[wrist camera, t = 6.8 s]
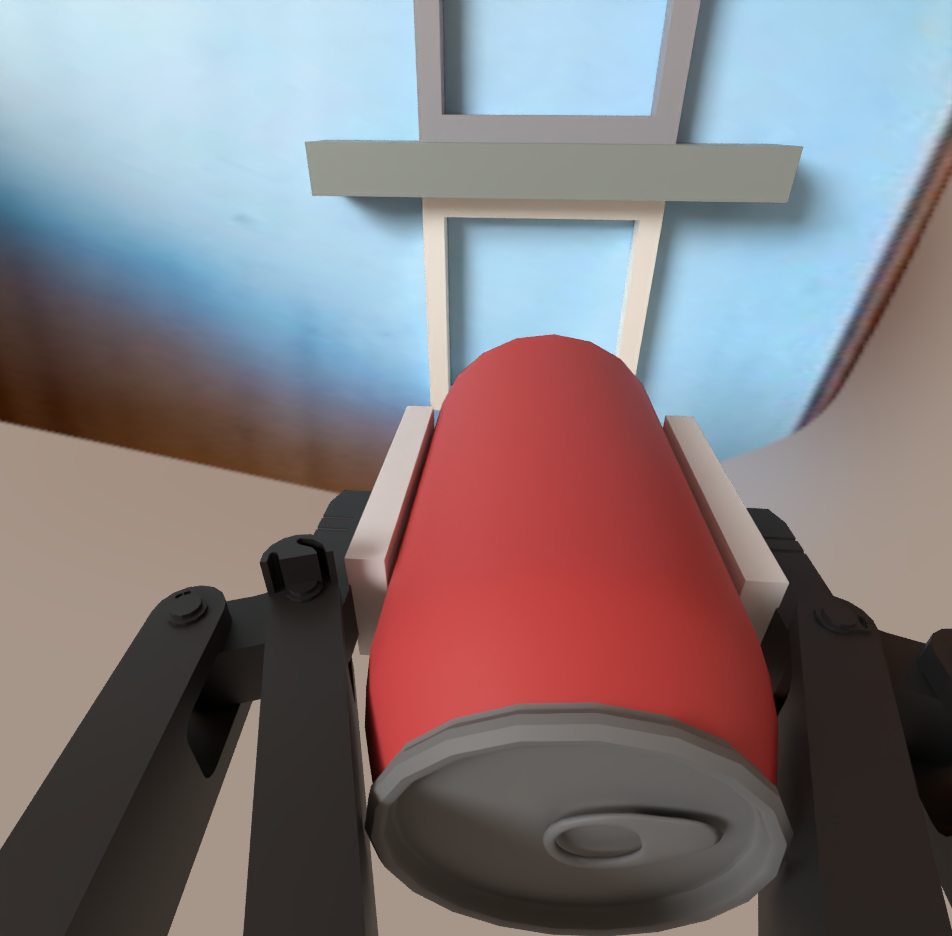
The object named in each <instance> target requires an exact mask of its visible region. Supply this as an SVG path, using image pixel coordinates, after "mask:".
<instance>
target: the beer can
mask: <svg viewBox="0 0 952 936" xmlns="http://www.w3.org/2000/svg"><path fill="white" fill-rule="evenodd" d="M365 713H366V714H365V731H366V739H367V746H368V754H369V762H370V769H371V775H372V782H373V784H372V786H371V789H370V793H369V798H368V805H367V813H366V820H365V827H364V829H365V831H366V833H367V835H368V837H369V839H370V841H371V843H372V845H373V847H374V849H375V851H376V853H377V855H378V857H379V859H380V860H381V862H382V863H383V865H384V866H385V867H386V868H387V869H388V870H389V871H390V872H391V873H392V874H394V875H395V876H396V877H397V878H398V879H399V880H400V881H402V882H403V883H404V884H405V885H406V886H407V887H408V888H410V889H411V890H412V891H413V892H415V893H417V894H419V895H421V896H423V897H425V898H427V899H429V900H431V901H433V902H435V903H437V904H439V905H441V906H443V907H445V908H447V909H449V910H451V911H452V912H456V913H459V914H462V915H465V916H469V917H472V918H475V919H478V920H482V921H485V922H488V923H491V924H495V925H498V926H503V927H509V928H515V929H521V930H528V931H534V932H539V933H546V934H553V935H579V936H616V935H628V934H638V933H651V932H659V931H664V930H668V929H672V928H676V927H680V926H685V925H689V924H693V923H697V922H702V921H706V920H709V919H711V918H713V917H715V916H717V915H720V914H722V913H724V912H726V911H728V910H730V909H733V908H735V907H737V906H739V905H742V904H744V903H746V902H748V901H749V900H750V899H752V898H753V897H754V896H755V895H756V894H757V893H758V892H759V891H760V890H762V889H763V888H764V887H765V886H766V885H767V884H768V883H769V882H771V881H772V880H773V879H774V878H775V877H776V876H777V875H778V873H779V872H780V870H781V868H782V867H783V864H784V861H785V858H786V855H787V852H788V849H789V846H790V843H791V840H792V837H793V831H792V828H791V826H790V823H789V820H788V817H787V814H786V812H785V809H784V806H783V803H782V801H781V798H780V795H779V793H778V790H777V765H778V718H777V713H776V707H775V701H774V695H773V689H772V684H771V678H770V675H769V672H768V668H767V665H766V662H765V659H764V656H763V652H762V649H761V646H760V643H759V640H758V637H757V634H756V632H755V630H754V627H753V625H752V623H751V621H750V619H749V617H748V614H747V612H746V610H745V608H744V606H743V603H742V601H741V599H740V597H739V595H738V592H737V590H736V588H735V586H734V584H733V581H732V579H731V577H730V575H729V573H728V570H727V568H726V566H725V564H724V562H723V560H722V557H721V555H720V553H719V551H718V549H717V546H716V544H715V542H714V540H713V538H712V535H711V533H710V531H709V529H708V527H707V524H706V522H705V520H704V518H703V516H702V513H701V511H700V509H699V507H698V505H697V503H696V500H695V498H694V496H693V494H692V492H691V489H690V487H689V485H688V483H687V481H686V478H685V476H684V474H683V472H682V470H681V467H680V465H679V463H678V461H677V459H676V456H675V454H674V452H673V450H672V448H671V446H670V443H669V441H668V439H667V437H666V435H665V432H664V430H663V428H662V426H661V424H660V421H659V419H658V417H657V415H656V413H655V410H654V408H653V406H652V404H651V402H650V399H649V397H648V395H647V393H646V391H645V389H644V386H643V384H642V383H641V382H640V381H639V380H638V379H637V377H636V376H635V375H634V374H633V373H632V371H631V370H630V369H629V368H628V367H627V366H626V364H625V363H624V362H623V361H622V360H621V359H620V358H618V357H616V356H614V355H613V354H611V353H609V352H607V351H606V350H604V349H602V348H600V347H599V346H597V345H595V344H593V343H592V342H589V341H584V340H579V339H574V338H569V337H564V336H559V335H554V334H553V335H544V336H535V337H526V338H517V339H514V340H512V341H510V342H507V343H505V344H503V345H501V346H498V347H496V348H494V349H491V350H489V351H487V352H485V353H483V354H482V355H481V356H479V357H478V358H477V359H476V360H475V361H474V362H473V363H472V364H470V365H469V366H468V367H467V368H466V369H465V370H464V371H463V372H461V373H460V374H459V375H458V376H457V378H456V380H455V382H454V383H453V385H452V387H451V389H450V390H449V392H448V394H447V396H446V398H445V399H444V401H443V403H442V406H441V409H440V413H439V416H438V420H437V423H436V426H435V430H434V433H433V437H432V440H431V443H430V447H429V450H428V454H427V457H426V461H425V464H424V467H423V471H422V474H421V478H420V481H419V485H418V488H417V491H416V495H415V498H414V502H413V505H412V508H411V512H410V515H409V519H408V522H407V526H406V529H405V532H404V536H403V539H402V543H401V546H400V550H399V553H398V556H397V560H396V563H395V567H394V570H393V573H392V577H391V580H390V584H389V587H388V591H387V594H386V597H385V601H384V604H383V608H382V611H381V615H380V618H379V621H378V625H377V628H376V632H375V635H374V638H373V642H372V645H371V650H370V659H369V668H368V678H367V686H366V711H365Z"/></svg>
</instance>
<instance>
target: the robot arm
mask: <svg viewBox="0 0 952 936" xmlns="http://www.w3.org/2000/svg"><path fill="white" fill-rule="evenodd" d="M663 430H664V432H665V435H666V437H667V439H668V441H669V443H670V446H671V448H672V450H673V452H674V454H675V456H676V459H677V461H678V463H679V465H680V467H681V470H682V472H683V474H684V476H685V478H686V481H687V483H688V485H689V487H690V489H691V492H692V494H693V496H694V498H695V500H696V503H697V505H698V507H699V509H700V511H701V513H702V516H703V518H704V520H705V522H706V524H707V527H708V529H709V531H710V533H711V535H712V538H713V540H714V542H715V544H716V546H717V549H718V551H719V553H720V555H721V557H722V560H723V562H724V564H725V566H726V568H727V570H728V573H729V575H730V577H731V579H732V581H733V584H734V586H735V588H736V590H737V592H738V595H739V597H740V599H741V601H742V603H743V606H744V608H745V610H746V612H747V614H748V617H749V619H750V621H751V623H752V625H753V627H754V630H755V632H756V634H757V637H758V640H759V643H760V646H761V649H762V652H763V656H764V659H765V662H766V665H767V668H768V672H769V675H770V678H771V684H772V689H773V695H774V701H775V707H776V713H777V718H778V765H777V790H778V793H779V795H780V798H781V801H782V803H783V806H784V809H785V812H786V814H787V817H788V820H789V823H790V826H791V828H792V831H793V837H792V840H791V843H790V846H789V849H788V852H787V855H786V858H785V861H784V864H783V867H782V868H781V870H780V872H779V873H778V875H777V876H776V877H775V878H774V879H773V880H772V881H771V882H769V883H768V884H767V885H766V886H765V887H764V888H763V889H762V890H760V891H759V892H758V930H759V931H758V936H952V929H951V925H950V921H949V917H948V913H947V909H946V904H945V900H944V896H943V892H942V888H943V890H944V892H945V894H946V896H947V899H948V901H949V903H950V905H951V907H952V629H941V630H939V631H937V632H935V633H933V634H932V636H931V637H930V639H929V640H928V642H927V643H926V644H925V643H921V642H918V641H914V640H911V639H907V638H903V637H900V636H896V635H893V634H889V633H886V632H883V631H880V630H878V629H877V627H876V625H875V623H874V621H873V620H872V619H871V618H870V617H869V616H868V615H867V614H866V613H865V612H864V611H863V610H862V609H860V608H858V607H857V606H855V605H853V604H852V603H850V602H848V601H846V600H843V599H840V598H838V597H835V596H833V595H832V593H831V591H830V590H829V588H828V587H827V585H826V584H825V582H824V581H823V579H822V578H821V576H820V575H819V574H818V572H817V570H816V569H815V567H814V566H813V564H812V562H811V561H810V560H809V558H808V556H807V555H806V554H804V551H803V549H802V547H801V546H800V544H799V543H798V541H795V537H794V535H793V534H792V532H791V531H790V529H789V527H788V526H787V524H786V523H785V522H784V521H783V520H781V519H780V518H779V517H777V516H776V515H775V514H774V513H772V512H771V511H770V510H768V509H757V508H746V507H745V506H744V504H743V502H742V500H741V499H740V497H739V495H738V493H737V492H736V490H735V488H734V486H733V485H732V483H731V481H730V480H729V478H728V476H727V475H726V473H725V471H724V469H723V467H722V466H721V464H720V462H719V461H718V459H717V457H716V455H715V454H714V452H713V450H712V448H711V447H710V445H709V443H708V441H707V440H706V438H705V436H704V435H703V433H702V431H701V429H700V428H699V426H698V424H697V422H696V421H695V419H694V417H690V416H665V421H664V426H663ZM433 433H434V410H433V407H429V406H407V408H406V410H405V413H404V415H403V418H402V420H401V422H400V425H399V427H398V430H397V432H396V434H395V437H394V439H393V442H392V444H391V447H390V449H389V451H388V454H387V456H386V459H385V461H384V464H383V466H382V468H381V471H380V473H379V476H378V478H377V480H376V483H375V485H374V488H373V490H372V491H353V490H344V491H343V492H342V493H341V494H339V495H338V496H337V497H336V498H335V499H333V500H332V501H331V502H330V504H329V506H328V508H327V510H326V512H325V514H324V517H323V518H322V520H321V522H320V523H319V525H318V530H316V531H315V533H314V535H311V534H308V535H295V536H291V537H288V538H284V539H282V540H280V541H278V542H277V543H275V544H273V545H271V546H270V547H269V549H267V551H265V552H264V553H263V556H262V558H261V561H260V566H261V569H262V573H263V577H264V580H265V583H266V587H267V591H268V592H267V593H265V594H261V595H257V596H253V597H248V598H242V599H237V600H232V601H226V600H225V597H224V595H223V593H222V592H221V591H219V590H218V589H216V588H215V587H209V586H195V587H188V588H186V589H183V590H180V591H177V592H175V593H173V594H171V595H170V596H168V597H167V598H165V599H164V600H162V601H161V602H160V603H159V604H158V605H157V606H156V607H155V609H154V610H153V611H152V612H151V614H150V615H149V617H148V618H147V620H146V622H145V623H144V625H143V626H142V628H141V629H140V631H139V633H138V634H137V636H136V637H135V639H134V640H133V642H132V644H131V645H130V647H129V648H128V650H127V651H126V653H125V655H124V656H123V658H122V659H121V661H120V662H119V664H118V666H117V667H116V669H115V670H114V672H113V673H112V675H111V677H110V678H109V680H108V681H107V683H106V684H105V686H104V688H103V689H102V691H101V692H100V694H99V696H98V697H97V699H96V700H95V702H94V703H93V705H92V706H91V708H90V710H89V711H88V713H87V714H86V716H85V718H84V719H83V721H82V722H81V724H80V725H79V727H78V728H77V730H76V732H75V733H74V735H73V736H72V738H71V740H70V741H69V743H68V744H67V746H66V747H65V749H64V750H63V752H62V754H61V755H60V757H59V758H58V760H57V761H56V763H55V765H54V766H53V768H52V769H51V771H50V772H49V774H48V776H47V777H46V779H45V780H44V782H43V784H42V785H41V787H40V788H39V790H38V791H37V793H36V795H35V796H34V798H33V799H32V801H31V802H30V804H29V806H28V807H27V809H26V810H25V812H24V813H23V815H22V816H21V818H20V820H19V821H18V823H17V824H16V826H15V827H14V829H13V831H12V832H11V834H10V836H9V837H8V838H7V840H6V842H5V843H4V845H3V846H2V848H1V850H0V936H167V935H168V932H169V929H170V927H171V924H172V921H173V918H174V916H175V913H176V910H177V907H178V905H179V902H180V899H181V896H182V894H183V891H184V888H185V885H186V883H187V880H188V877H189V874H190V872H191V869H192V866H193V863H194V861H195V858H196V855H197V852H198V850H199V847H200V844H201V841H202V838H203V836H204V833H205V830H206V828H207V824H208V822H209V819H210V817H211V814H212V811H213V808H214V805H215V803H216V800H217V797H218V794H219V792H220V789H221V786H222V783H223V781H224V778H225V775H226V772H227V770H228V767H229V764H230V761H231V759H232V756H233V753H234V750H235V748H236V745H237V742H238V739H239V737H240V734H241V731H242V728H243V726H244V723H245V720H246V717H247V715H248V712H249V709H250V706H251V704H252V701H254V700H258V699H261V704H260V717H259V730H258V744H257V745H258V746H257V757H256V771H255V785H254V798H253V812H252V825H251V839H250V852H249V865H248V879H247V892H246V906H245V919H244V932H243V936H378V929H377V917H376V907H375V906H376V905H375V895H374V884H373V873H372V862H371V851H370V840H369V837H368V835H367V833H366V831H365V829H364V827H365V820H366V813H367V807H366V796H365V786H364V775H363V764H362V753H361V743H360V731H359V721H358V710H357V698H356V688H355V678H354V668H353V662H352V653H353V651H354V647H355V644H356V641H357V639H358V644H359V651H360V654H362V655H370V650H371V645H372V642H373V638H374V635H375V632H376V628H377V625H378V621H379V618H380V615H381V611H382V608H383V604H384V601H385V597H386V594H387V591H388V587H389V584H390V580H391V577H392V573H393V570H394V567H395V563H396V560H397V556H398V553H399V550H400V546H401V543H402V539H403V536H404V532H405V529H406V526H407V522H408V519H409V515H410V512H411V508H412V505H413V502H414V498H415V495H416V491H417V488H418V485H419V481H420V478H421V474H422V471H423V467H424V464H425V461H426V457H427V454H428V450H429V447H430V443H431V440H432V437H433ZM941 886H942V888H941Z"/></svg>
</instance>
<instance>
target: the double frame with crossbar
mask: <svg viewBox="0 0 952 936" xmlns="http://www.w3.org/2000/svg"><path fill="white" fill-rule="evenodd" d="M700 2H701V0H668V2H667V9H666V16H665V23H664V29H663V36H662V43H661V49H660V56H659V63H658V69H657V76H656V83H655V89H654V96H653V103H652V110H651V116H587V115H445V90H444V41H443V0H414V23H415V47H416V70H417V94H418V117H419V141H372V140H322V141H310V142H305V146H306V154H307V161H308V168H309V175H310V182H311V190H312V196H369V197H422V212H423V235H424V259H425V282H426V306H427V330H428V353H429V377H430V400H431V407H433V410H440V409H441V406H442V403H443V401H444V399H445V398H446V396H447V394H448V392H449V390H450V389H451V387H452V386H451V383H450V334H449V285H448V237H447V217H473V218H531V219H589V220H635V223H634V230H633V237H632V244H631V250H630V257H629V264H628V270H627V277H626V284H625V290H624V297H623V304H622V311H621V317H620V324H619V331H618V337H617V344H616V351H615V356H616V357H618V358H620V359H621V360H622V361H623V362H624V363H625V364H626V366H627V367H628V368H629V369H630V370H631V371H632V373H633V374H634V375H636V370H637V364H638V358H639V352H640V347H641V341H642V335H643V329H644V324H645V318H646V312H647V306H648V301H649V295H650V289H651V283H652V278H653V272H654V266H655V261H656V255H657V249H658V243H659V238H660V232H661V226H662V220H663V215H664V209H665V203H666V201H697V202H762V203H788V199H789V195H790V192H791V188H792V185H793V181H794V178H795V174H796V171H797V167H798V164H799V160H800V157H801V153H802V149H803V147H802V146H790V145H778V144H699V143H676V140H677V134H678V128H679V123H680V117H681V111H682V105H683V100H684V94H685V88H686V83H687V77H688V71H689V65H690V60H691V54H692V48H693V42H694V37H695V31H696V25H697V19H698V14H699V8H700Z"/></svg>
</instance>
